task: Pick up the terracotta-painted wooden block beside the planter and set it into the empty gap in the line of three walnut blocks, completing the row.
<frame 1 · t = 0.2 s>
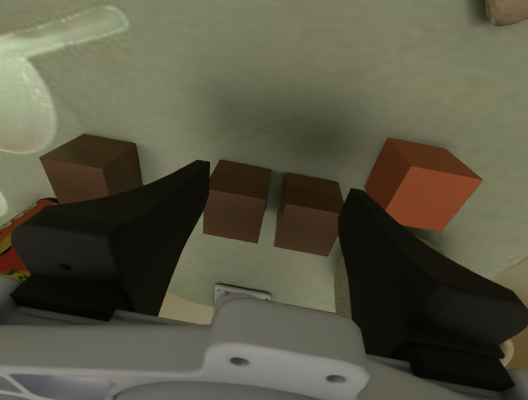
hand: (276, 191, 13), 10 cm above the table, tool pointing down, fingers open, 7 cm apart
walnut block 1: (305, 198, 25), on the table
walnut block 2: (242, 186, 25), on the table
planter: (380, 254, 29), on the table
walnut block 3: (115, 162, 24), on the table
beverage can: (71, 226, 31), on the table
terracotta block: (402, 169, 22), on the table
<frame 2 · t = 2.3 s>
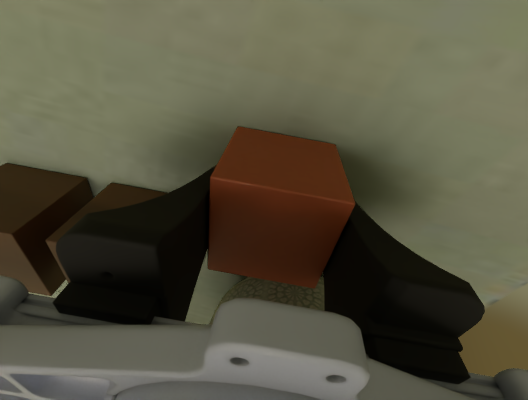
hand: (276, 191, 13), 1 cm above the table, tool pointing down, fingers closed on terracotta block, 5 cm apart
walnut block 1: (155, 219, 17), on the table
walnut block 2: (60, 202, 16), on the table
planter: (289, 294, 20), on the table
terracotta block: (277, 177, 14), on the table, touching gripper
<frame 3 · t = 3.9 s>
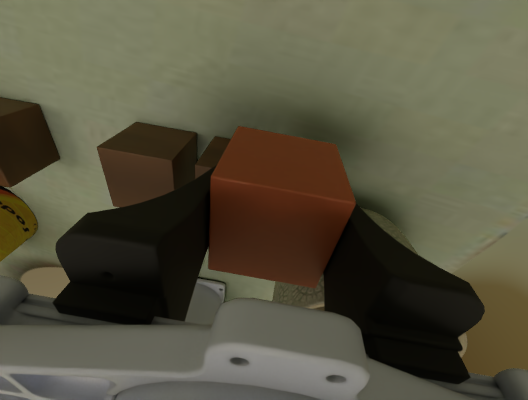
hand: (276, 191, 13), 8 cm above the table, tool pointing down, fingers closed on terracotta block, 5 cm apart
walnut block 1: (242, 167, 21), on the table
walnut block 2: (169, 154, 21), on the table
planter: (337, 235, 25), on the table
walnut block 3: (22, 128, 21), on the table
terracotta block: (278, 177, 14), point 7 cm above the table, touching gripper
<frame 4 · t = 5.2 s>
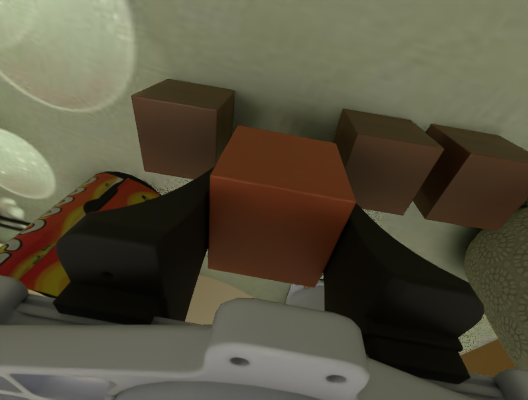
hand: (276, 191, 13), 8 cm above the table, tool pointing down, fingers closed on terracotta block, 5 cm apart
walnut block 1: (445, 160, 19), on the table
walnut block 2: (364, 146, 19), on the table
planter: (517, 234, 23), on the table
walnut block 3: (201, 118, 19), on the table
beverage can: (129, 207, 26), on the table
terracotta block: (277, 176, 14), point 7 cm above the table, touching gripper
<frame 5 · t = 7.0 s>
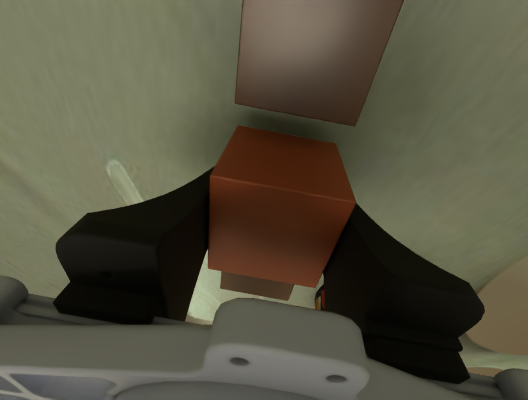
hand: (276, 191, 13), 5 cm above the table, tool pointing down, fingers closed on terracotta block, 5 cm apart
walnut block 2: (306, 36, 12), on the table
walnut block 3: (266, 223, 20), on the table
terracotta block: (277, 176, 14), point 3 cm above the table, touching gripper
when the fingers open (1 cm above the table, at t = 8.4 s): terracotta block stays where it is, on the table.
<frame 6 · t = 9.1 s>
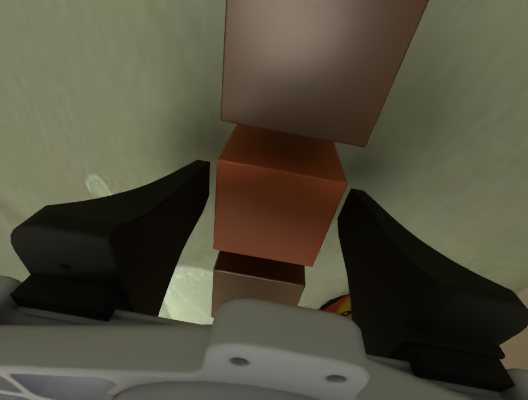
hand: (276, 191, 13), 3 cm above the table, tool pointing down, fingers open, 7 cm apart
walnut block 2: (305, 39, 11), on the table
walnut block 3: (262, 242, 18), on the table
beverage can: (362, 318, 24), on the table
terracotta block: (277, 166, 15), on the table
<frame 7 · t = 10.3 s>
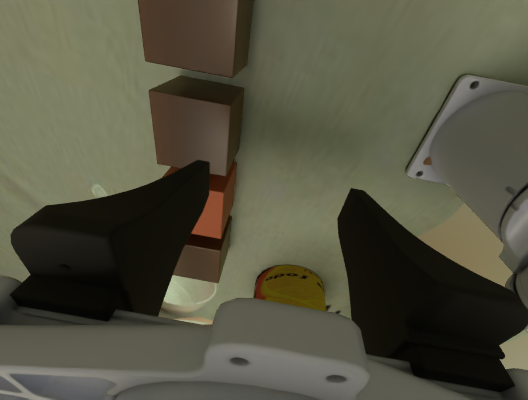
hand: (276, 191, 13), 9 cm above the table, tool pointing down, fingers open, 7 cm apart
walnut block 1: (214, 16, 16), on the table
walnut block 2: (211, 114, 20), on the table
walnut block 3: (208, 228, 28), on the table
beverage can: (289, 285, 33), on the table
terracotta block: (209, 180, 24), on the table
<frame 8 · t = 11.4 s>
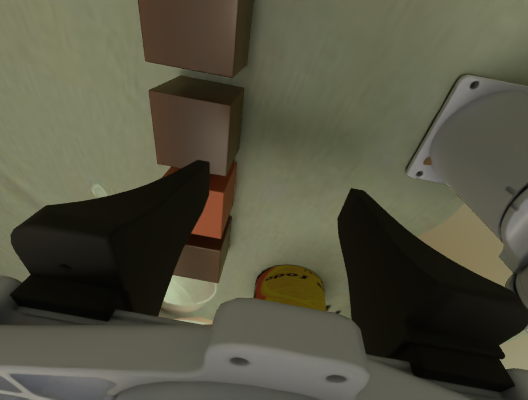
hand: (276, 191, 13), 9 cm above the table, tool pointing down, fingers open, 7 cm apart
walnut block 1: (214, 16, 16), on the table
walnut block 2: (211, 114, 20), on the table
walnut block 3: (208, 228, 28), on the table
beverage can: (289, 285, 33), on the table
terracotta block: (209, 180, 24), on the table
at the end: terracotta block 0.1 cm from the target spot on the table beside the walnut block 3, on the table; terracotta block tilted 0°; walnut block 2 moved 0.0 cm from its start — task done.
